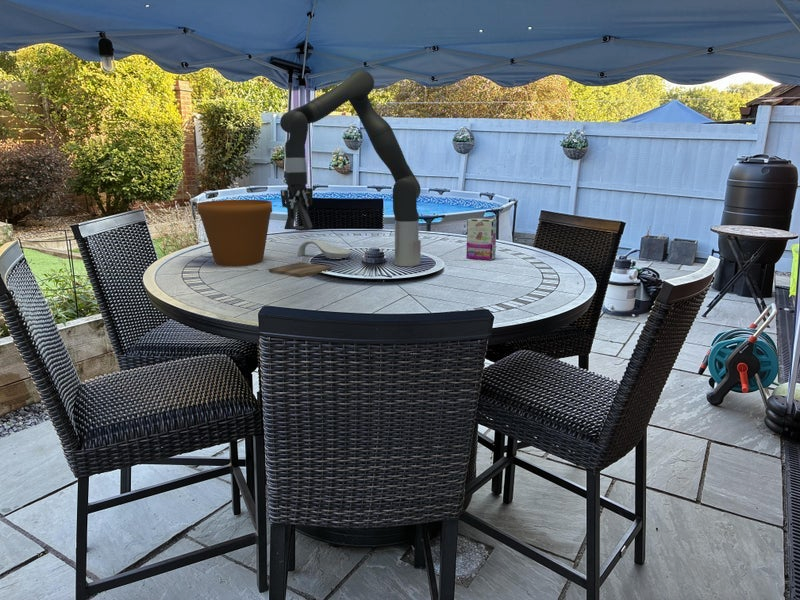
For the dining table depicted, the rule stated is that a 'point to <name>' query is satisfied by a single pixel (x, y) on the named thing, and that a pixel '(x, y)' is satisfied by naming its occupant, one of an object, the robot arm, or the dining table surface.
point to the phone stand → (303, 214)
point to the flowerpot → (236, 230)
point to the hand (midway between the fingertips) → (298, 218)
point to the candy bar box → (481, 239)
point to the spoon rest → (325, 249)
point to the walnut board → (299, 269)
